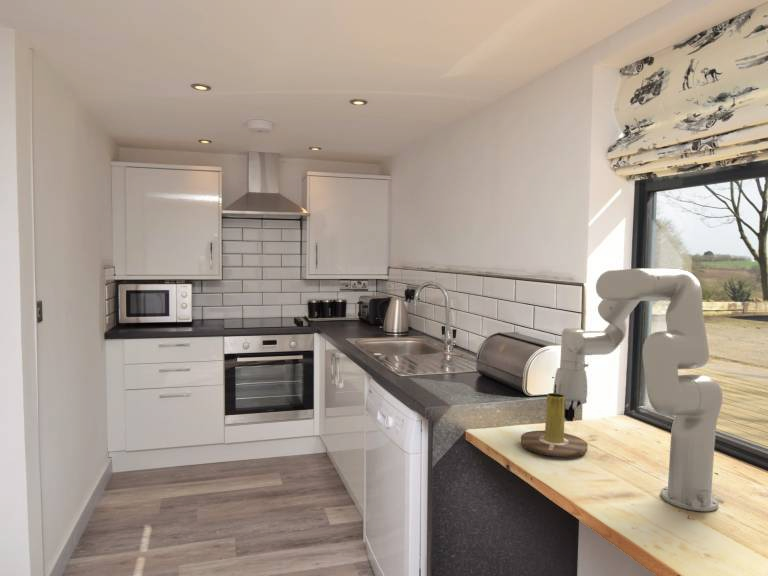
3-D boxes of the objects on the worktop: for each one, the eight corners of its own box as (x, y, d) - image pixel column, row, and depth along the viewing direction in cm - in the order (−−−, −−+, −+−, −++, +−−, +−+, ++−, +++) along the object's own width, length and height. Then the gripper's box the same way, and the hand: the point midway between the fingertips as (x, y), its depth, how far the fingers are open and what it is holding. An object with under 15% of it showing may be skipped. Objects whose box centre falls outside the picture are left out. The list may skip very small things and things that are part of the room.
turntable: (591, 459, 162) (593, 434, 162) (521, 452, 166) (522, 428, 166) (581, 436, 184) (582, 413, 184) (519, 430, 189) (520, 408, 188)
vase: (544, 442, 172) (546, 396, 171) (543, 436, 178) (545, 392, 177) (565, 444, 170) (567, 398, 169) (563, 438, 176) (565, 393, 175)
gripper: (590, 364, 187) (587, 417, 189) (546, 362, 187) (543, 415, 189) (599, 368, 180) (595, 424, 181) (552, 367, 180) (549, 422, 181)
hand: (568, 419), depth 185 cm, fingers closed
